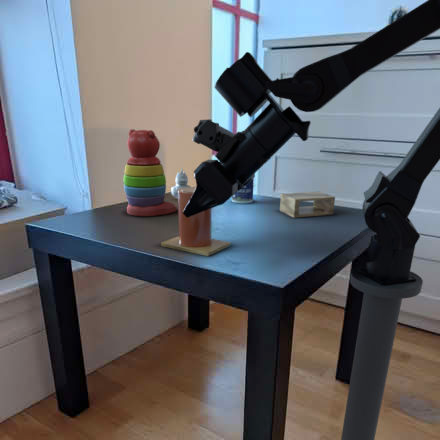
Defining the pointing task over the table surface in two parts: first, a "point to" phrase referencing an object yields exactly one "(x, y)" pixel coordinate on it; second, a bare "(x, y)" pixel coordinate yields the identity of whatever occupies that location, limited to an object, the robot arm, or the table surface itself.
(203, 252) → the cork mat
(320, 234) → the table surface
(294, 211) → the box
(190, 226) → the cylinder
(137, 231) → the table surface
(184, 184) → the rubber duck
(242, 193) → the pill bottle
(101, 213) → the table surface
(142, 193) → the stacking bear
